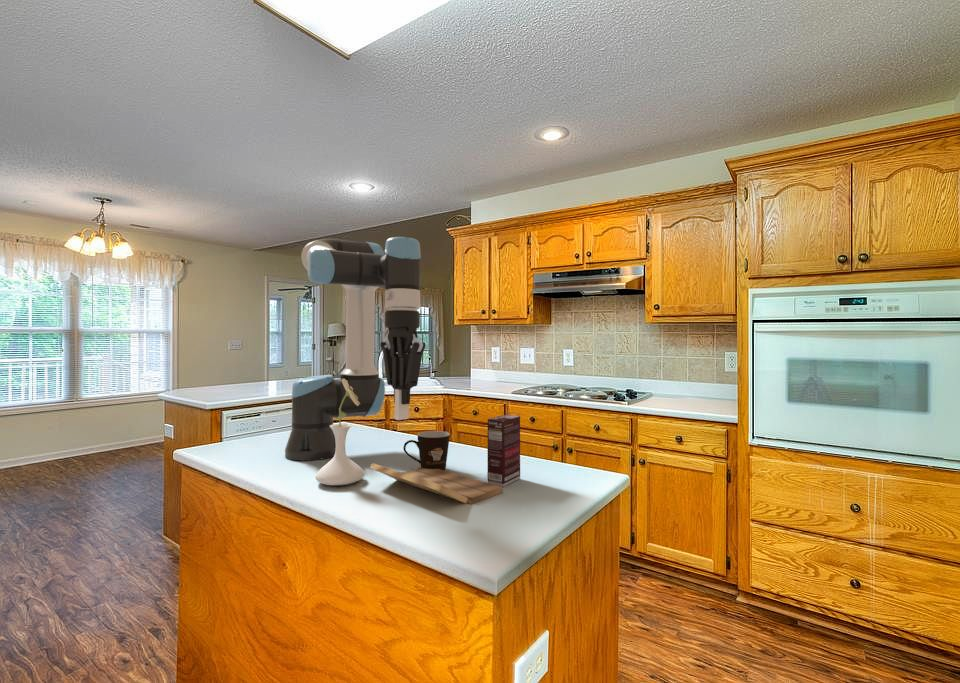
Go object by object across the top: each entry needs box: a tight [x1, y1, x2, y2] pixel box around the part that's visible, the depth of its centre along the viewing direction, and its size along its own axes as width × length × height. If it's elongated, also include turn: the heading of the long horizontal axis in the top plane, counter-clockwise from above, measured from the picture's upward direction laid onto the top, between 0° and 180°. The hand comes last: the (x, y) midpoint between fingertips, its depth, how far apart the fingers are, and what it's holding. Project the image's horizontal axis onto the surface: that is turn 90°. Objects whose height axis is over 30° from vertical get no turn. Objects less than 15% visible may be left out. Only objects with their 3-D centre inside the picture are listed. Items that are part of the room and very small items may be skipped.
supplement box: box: [486, 414, 521, 488], centre depth 116 cm, size 9×5×16 cm, turn 146°
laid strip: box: [401, 466, 504, 505], centre depth 112 cm, size 26×10×1 cm, turn 48°
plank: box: [369, 462, 468, 504], centre depth 105 cm, size 24×9×1 cm, turn 48°
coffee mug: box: [403, 430, 451, 471], centre depth 125 cm, size 12×9×10 cm
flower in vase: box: [314, 378, 365, 486], centre depth 114 cm, size 13×11×25 cm
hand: (401, 418), depth 102 cm, fingers closed
